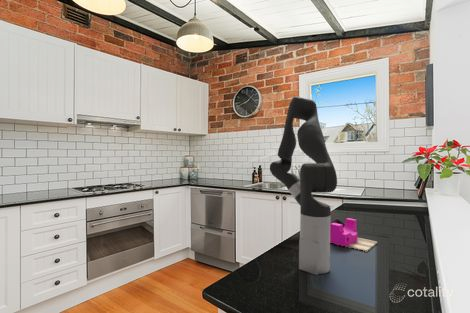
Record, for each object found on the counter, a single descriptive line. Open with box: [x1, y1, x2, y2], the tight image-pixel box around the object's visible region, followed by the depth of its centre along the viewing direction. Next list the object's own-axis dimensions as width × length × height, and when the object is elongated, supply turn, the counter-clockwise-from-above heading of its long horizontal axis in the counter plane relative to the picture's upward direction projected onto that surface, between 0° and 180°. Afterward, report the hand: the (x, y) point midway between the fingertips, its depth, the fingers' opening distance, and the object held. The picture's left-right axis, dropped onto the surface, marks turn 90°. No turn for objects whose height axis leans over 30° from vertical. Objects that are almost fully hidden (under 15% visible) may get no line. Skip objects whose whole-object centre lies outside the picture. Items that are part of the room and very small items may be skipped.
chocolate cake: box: [331, 216, 345, 228], centre depth 124 cm, size 10×7×12 cm
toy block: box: [330, 217, 358, 248], centre depth 112 cm, size 15×6×8 cm, turn 132°
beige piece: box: [345, 236, 378, 253], centre depth 114 cm, size 14×24×13 cm, turn 48°
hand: (325, 224), depth 118 cm, fingers closed on beige piece, 4 cm apart
